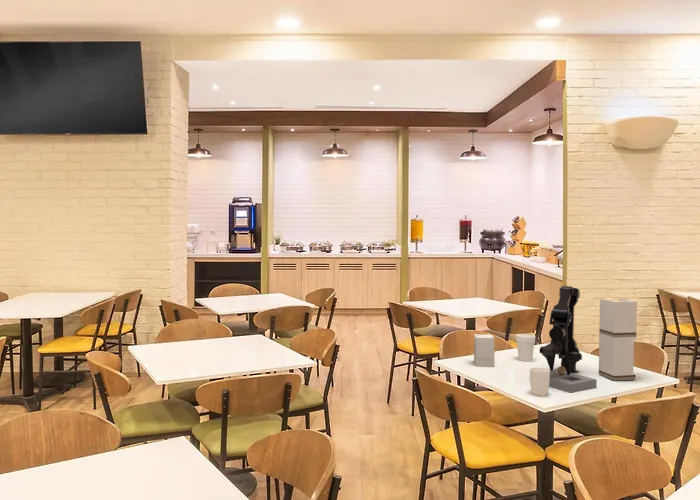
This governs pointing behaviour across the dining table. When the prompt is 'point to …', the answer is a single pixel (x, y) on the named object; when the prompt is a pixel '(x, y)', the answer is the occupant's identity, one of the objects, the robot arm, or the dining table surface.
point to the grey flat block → (570, 381)
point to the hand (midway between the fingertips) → (559, 372)
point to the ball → (561, 370)
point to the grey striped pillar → (617, 338)
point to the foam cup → (525, 347)
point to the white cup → (539, 381)
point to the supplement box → (483, 350)
